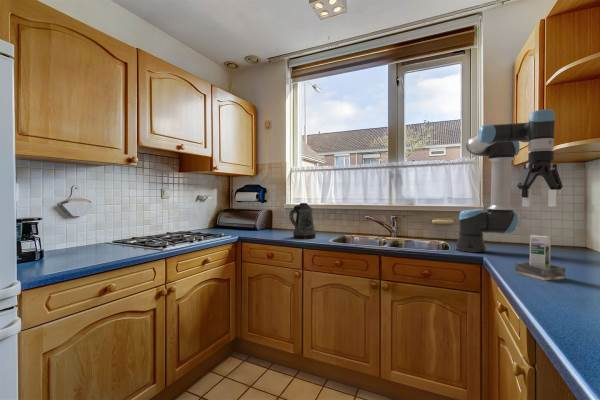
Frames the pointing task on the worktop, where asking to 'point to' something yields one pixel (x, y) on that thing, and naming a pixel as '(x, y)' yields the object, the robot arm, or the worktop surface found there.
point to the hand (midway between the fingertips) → (539, 206)
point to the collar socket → (540, 271)
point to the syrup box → (540, 251)
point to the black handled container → (303, 222)
